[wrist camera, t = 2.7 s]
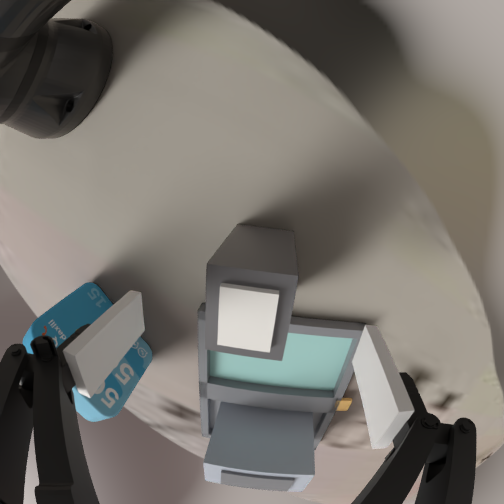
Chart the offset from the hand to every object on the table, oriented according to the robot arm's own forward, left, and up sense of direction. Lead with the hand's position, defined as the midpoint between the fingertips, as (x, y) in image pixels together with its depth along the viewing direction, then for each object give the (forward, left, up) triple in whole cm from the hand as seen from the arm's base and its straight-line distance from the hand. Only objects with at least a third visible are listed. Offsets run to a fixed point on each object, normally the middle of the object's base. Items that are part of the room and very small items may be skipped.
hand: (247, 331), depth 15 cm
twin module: (+23, +3, -11) cm, 25 cm away
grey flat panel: (+17, +3, -11) cm, 20 cm away
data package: (+11, -17, -11) cm, 23 cm away
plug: (0, 0, -11) cm, 11 cm away
